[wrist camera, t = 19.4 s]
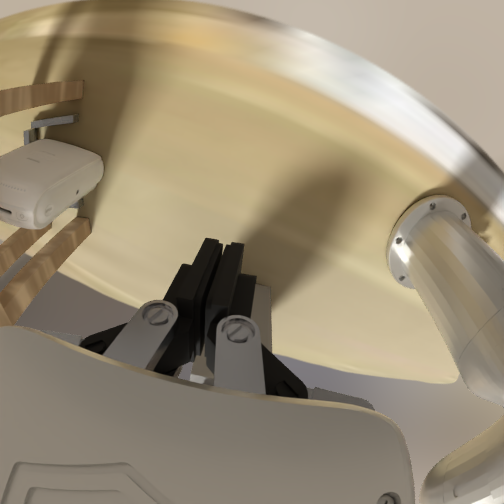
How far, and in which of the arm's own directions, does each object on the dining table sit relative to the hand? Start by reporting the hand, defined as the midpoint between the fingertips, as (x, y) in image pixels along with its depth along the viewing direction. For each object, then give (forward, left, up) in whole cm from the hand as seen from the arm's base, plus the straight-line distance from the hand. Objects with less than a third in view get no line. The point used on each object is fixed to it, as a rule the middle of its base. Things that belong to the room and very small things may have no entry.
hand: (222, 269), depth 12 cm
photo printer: (+20, 0, -16) cm, 25 cm away
